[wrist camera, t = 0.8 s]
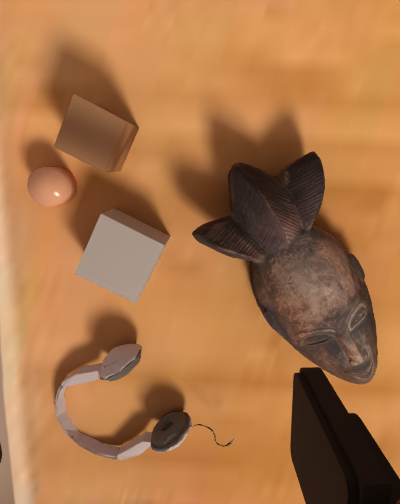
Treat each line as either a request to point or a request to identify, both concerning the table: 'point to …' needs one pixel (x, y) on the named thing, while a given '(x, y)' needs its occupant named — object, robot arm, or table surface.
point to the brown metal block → (95, 135)
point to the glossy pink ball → (52, 186)
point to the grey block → (121, 254)
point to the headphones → (113, 368)
